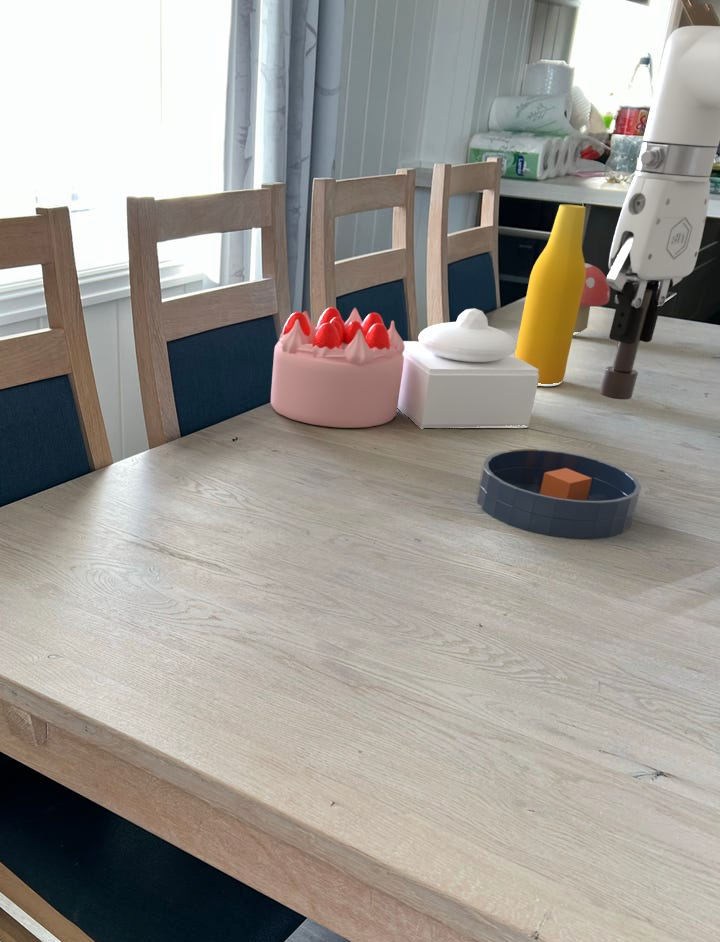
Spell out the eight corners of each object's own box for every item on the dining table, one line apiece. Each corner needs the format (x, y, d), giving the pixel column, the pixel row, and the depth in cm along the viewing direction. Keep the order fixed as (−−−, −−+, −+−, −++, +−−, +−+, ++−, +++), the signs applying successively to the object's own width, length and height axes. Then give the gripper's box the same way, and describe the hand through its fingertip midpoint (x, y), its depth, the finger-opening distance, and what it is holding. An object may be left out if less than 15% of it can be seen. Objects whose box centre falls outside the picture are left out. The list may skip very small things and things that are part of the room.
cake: (371, 392, 162) (383, 303, 155) (415, 429, 145) (430, 332, 138) (257, 392, 158) (263, 301, 151) (288, 431, 141) (297, 330, 134)
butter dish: (421, 429, 145) (438, 319, 137) (381, 395, 161) (394, 295, 153) (528, 428, 149) (551, 321, 141) (480, 395, 164) (497, 297, 156)
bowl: (661, 526, 117) (672, 487, 114) (561, 555, 108) (572, 513, 105) (543, 477, 130) (551, 441, 127) (445, 499, 120) (452, 461, 118)
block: (584, 509, 119) (592, 478, 117) (563, 514, 117) (570, 483, 115) (558, 498, 121) (566, 467, 119) (537, 503, 119) (544, 472, 117)
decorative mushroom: (525, 334, 211) (540, 261, 203) (552, 326, 220) (566, 256, 212) (584, 346, 203) (602, 270, 196) (609, 337, 213) (626, 265, 205)
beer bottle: (559, 377, 179) (597, 205, 164) (565, 390, 171) (605, 211, 156) (508, 372, 180) (541, 201, 165) (511, 384, 172) (547, 206, 157)
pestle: (637, 397, 115) (665, 292, 109) (618, 401, 113) (646, 293, 107) (612, 389, 118) (638, 286, 112) (593, 393, 116) (619, 287, 110)
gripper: (659, 166, 96) (612, 353, 106) (749, 168, 105) (699, 342, 114) (597, 159, 102) (558, 338, 111) (688, 161, 110) (644, 328, 119)
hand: (630, 339), depth 112 cm, fingers closed on pestle, 2 cm apart
